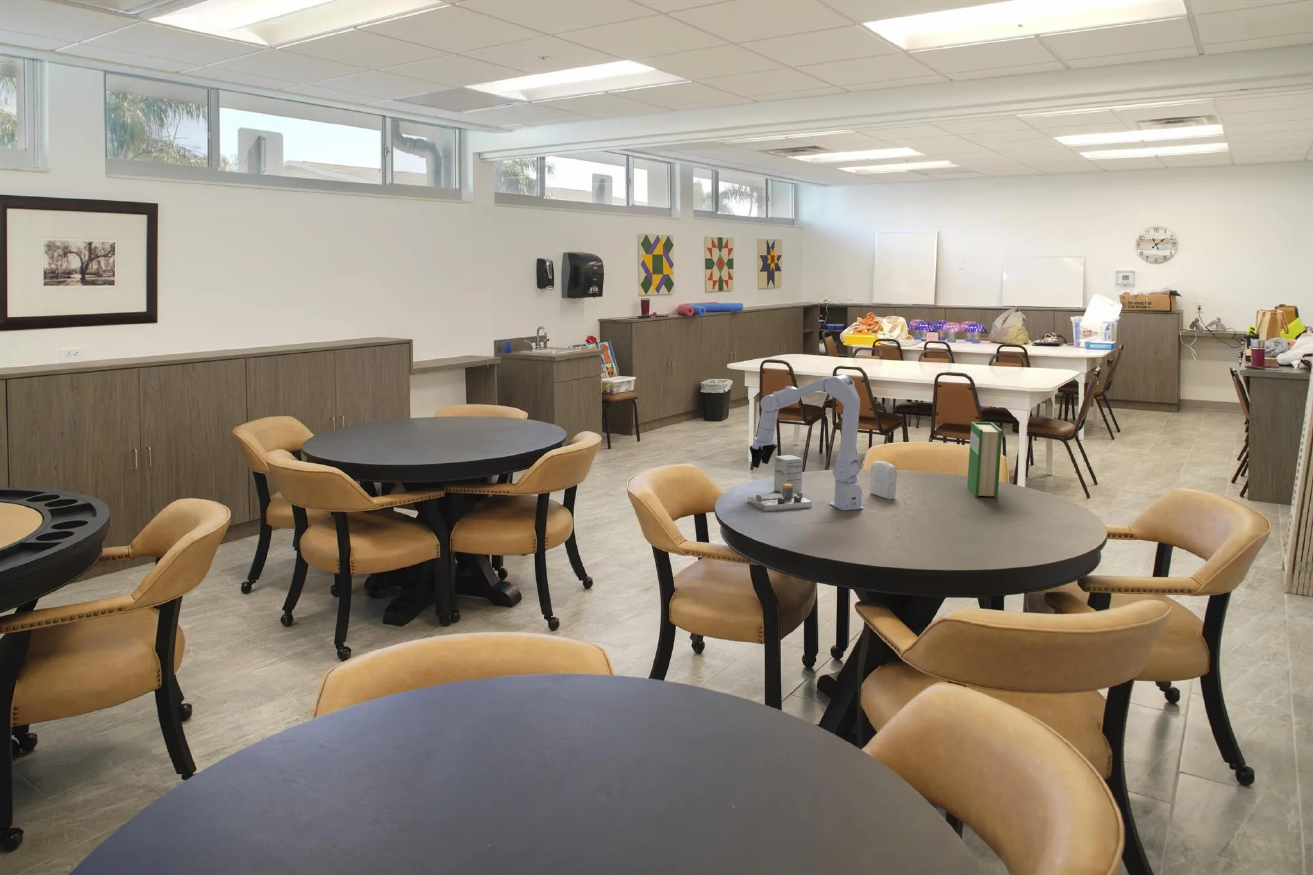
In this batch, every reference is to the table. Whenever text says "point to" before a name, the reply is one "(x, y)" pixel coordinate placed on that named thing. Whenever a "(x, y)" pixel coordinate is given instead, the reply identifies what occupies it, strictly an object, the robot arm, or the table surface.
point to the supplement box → (788, 472)
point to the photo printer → (883, 479)
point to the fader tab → (787, 490)
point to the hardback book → (984, 459)
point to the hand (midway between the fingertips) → (760, 465)
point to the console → (779, 501)
